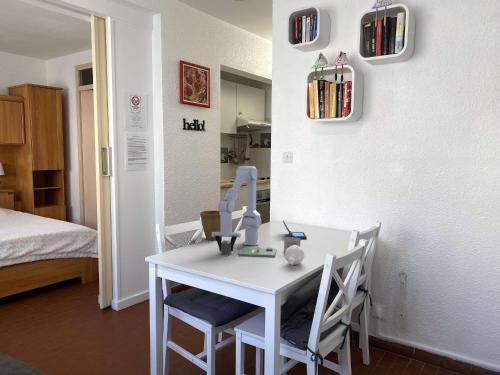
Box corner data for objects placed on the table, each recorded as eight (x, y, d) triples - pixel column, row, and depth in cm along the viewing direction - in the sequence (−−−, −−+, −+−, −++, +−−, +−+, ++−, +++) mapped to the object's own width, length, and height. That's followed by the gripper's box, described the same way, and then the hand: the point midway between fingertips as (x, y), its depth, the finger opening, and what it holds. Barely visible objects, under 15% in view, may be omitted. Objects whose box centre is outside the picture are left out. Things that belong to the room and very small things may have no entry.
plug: (223, 251, 198) (223, 240, 198) (231, 252, 198) (231, 240, 197) (221, 254, 192) (221, 243, 192) (229, 255, 192) (228, 243, 191)
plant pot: (221, 242, 218) (221, 214, 216) (196, 241, 221) (196, 213, 219) (228, 236, 232) (228, 210, 231) (204, 235, 235) (204, 209, 234)
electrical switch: (283, 253, 195) (283, 237, 195) (284, 252, 199) (284, 236, 199) (300, 254, 193) (300, 238, 193) (300, 253, 198) (301, 237, 198)
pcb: (242, 249, 203) (242, 242, 203) (276, 250, 201) (276, 244, 200) (238, 255, 191) (238, 248, 191) (274, 257, 189) (275, 250, 188)
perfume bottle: (285, 256, 184) (279, 266, 173) (290, 239, 181) (285, 248, 170) (302, 262, 182) (297, 273, 171) (308, 246, 179) (303, 256, 168)
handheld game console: (306, 239, 226) (307, 224, 225) (284, 239, 226) (284, 224, 225) (303, 234, 242) (303, 219, 241) (282, 233, 242) (282, 219, 241)
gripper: (210, 225, 191) (210, 252, 192) (239, 226, 189) (239, 253, 190) (213, 222, 198) (213, 248, 199) (241, 223, 196) (241, 249, 197)
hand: (226, 250), depth 195 cm, fingers open, 5 cm apart
